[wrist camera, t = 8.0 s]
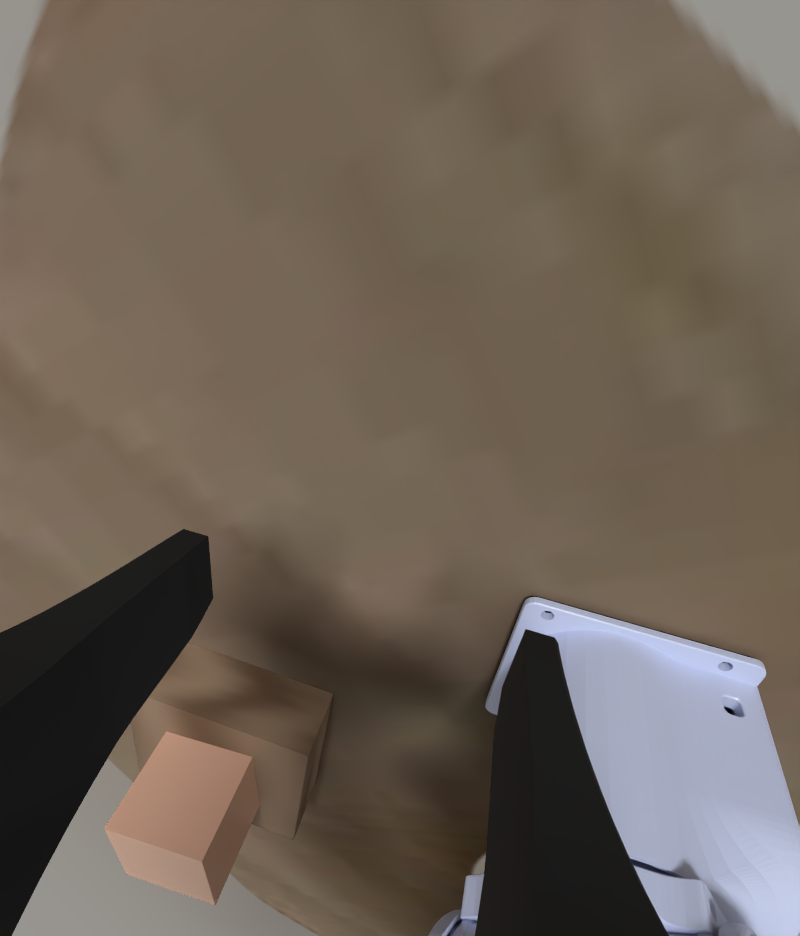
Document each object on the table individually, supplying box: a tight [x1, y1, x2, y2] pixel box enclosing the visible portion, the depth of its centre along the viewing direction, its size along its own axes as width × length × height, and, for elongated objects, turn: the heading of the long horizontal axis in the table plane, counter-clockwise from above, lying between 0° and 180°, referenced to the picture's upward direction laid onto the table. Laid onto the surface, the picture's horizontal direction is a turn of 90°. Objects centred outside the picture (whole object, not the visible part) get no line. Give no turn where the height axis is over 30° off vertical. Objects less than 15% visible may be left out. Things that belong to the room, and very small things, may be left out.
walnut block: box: [131, 643, 333, 840], centre depth 33 cm, size 10×10×4 cm
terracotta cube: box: [104, 731, 260, 905], centre depth 30 cm, size 5×5×5 cm
